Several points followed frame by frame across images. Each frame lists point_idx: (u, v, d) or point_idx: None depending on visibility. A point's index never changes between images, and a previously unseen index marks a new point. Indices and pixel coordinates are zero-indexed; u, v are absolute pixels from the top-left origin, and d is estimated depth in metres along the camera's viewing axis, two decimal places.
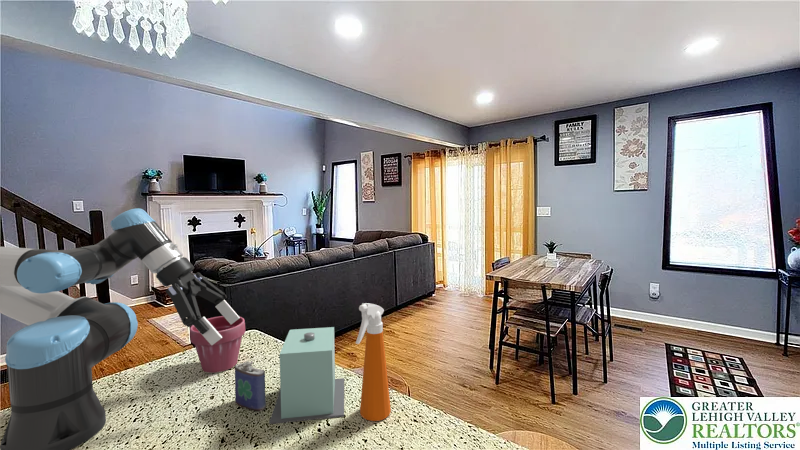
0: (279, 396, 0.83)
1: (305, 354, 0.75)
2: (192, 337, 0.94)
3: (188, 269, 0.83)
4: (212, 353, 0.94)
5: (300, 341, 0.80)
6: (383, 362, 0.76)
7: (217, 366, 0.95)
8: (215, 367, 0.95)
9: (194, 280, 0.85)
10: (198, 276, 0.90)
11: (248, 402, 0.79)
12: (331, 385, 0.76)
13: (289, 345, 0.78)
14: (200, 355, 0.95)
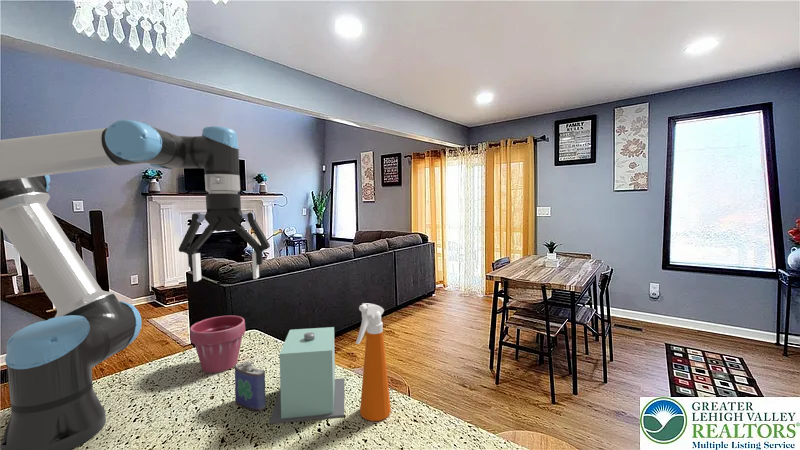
0: (279, 396, 0.83)
1: (305, 354, 0.75)
2: (192, 337, 0.94)
3: (212, 207, 0.80)
4: (212, 353, 0.94)
5: (300, 341, 0.80)
6: (383, 362, 0.76)
7: (217, 366, 0.95)
8: (215, 367, 0.95)
9: (225, 219, 0.82)
10: None
11: (248, 402, 0.79)
12: (331, 385, 0.76)
13: (289, 345, 0.78)
14: (200, 355, 0.95)
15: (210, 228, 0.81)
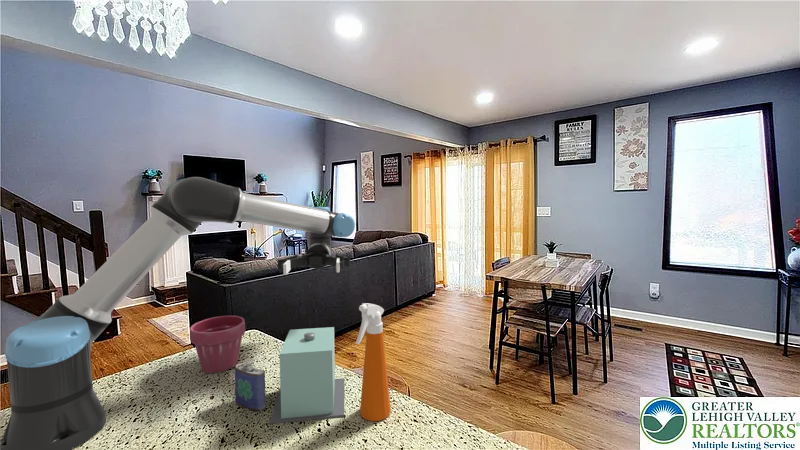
0: (279, 396, 0.83)
1: (305, 354, 0.75)
2: (192, 337, 0.94)
3: (322, 267, 1.08)
4: (212, 353, 0.94)
5: (300, 341, 0.80)
6: (383, 362, 0.76)
7: (217, 366, 0.95)
8: (215, 367, 0.95)
9: (314, 264, 1.05)
10: None
11: (248, 402, 0.79)
12: (331, 385, 0.76)
13: (289, 345, 0.78)
14: (200, 355, 0.95)
15: None
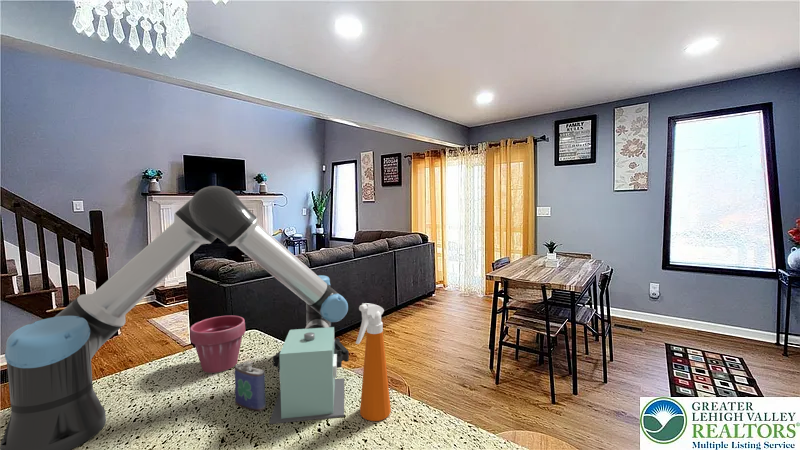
0: (279, 396, 0.83)
1: (305, 354, 0.75)
2: (192, 337, 0.94)
3: None
4: (212, 353, 0.94)
5: (300, 341, 0.80)
6: (383, 362, 0.76)
7: (217, 366, 0.95)
8: (215, 367, 0.95)
9: None
10: None
11: (248, 402, 0.79)
12: (331, 385, 0.76)
13: (289, 345, 0.78)
14: (200, 355, 0.95)
15: None
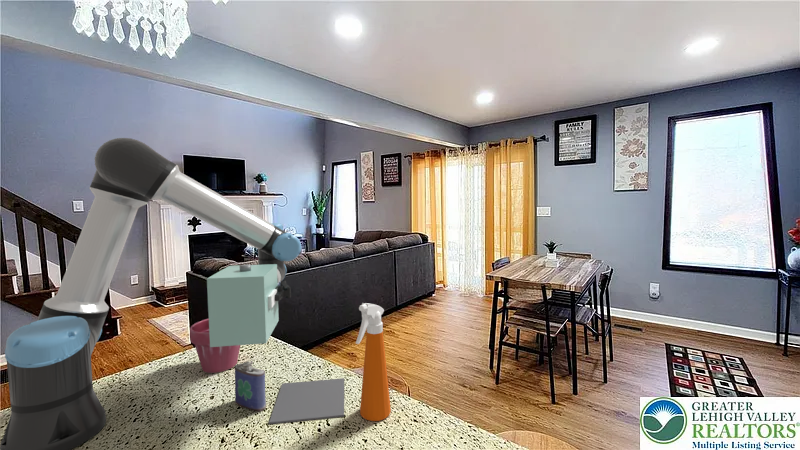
0: (279, 396, 0.83)
1: (235, 279, 0.71)
2: (192, 337, 0.94)
3: None
4: (212, 353, 0.94)
5: (234, 271, 0.77)
6: (383, 362, 0.76)
7: (217, 366, 0.95)
8: (215, 367, 0.95)
9: None
10: None
11: (248, 402, 0.79)
12: (263, 313, 0.73)
13: (221, 273, 0.75)
14: (200, 355, 0.95)
15: None
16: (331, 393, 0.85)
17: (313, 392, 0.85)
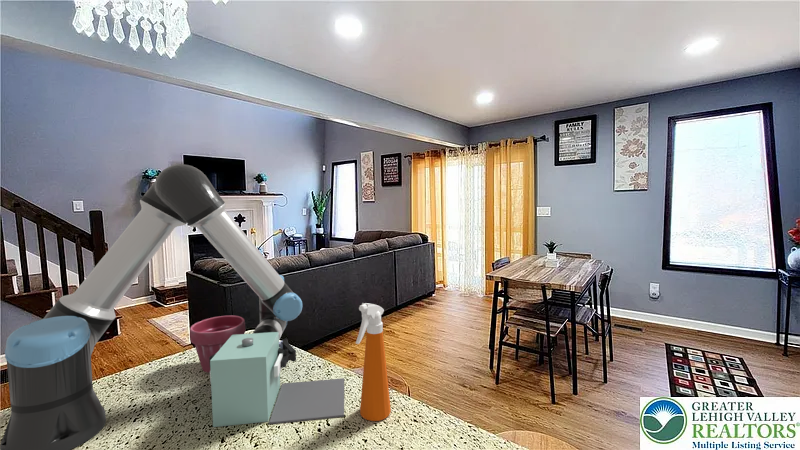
0: (279, 396, 0.83)
1: (237, 360, 0.73)
2: (192, 337, 0.94)
3: None
4: (212, 353, 0.94)
5: (237, 347, 0.78)
6: (383, 362, 0.76)
7: None
8: None
9: None
10: None
11: None
12: (265, 392, 0.74)
13: (224, 351, 0.76)
14: (200, 355, 0.95)
15: None
16: (331, 393, 0.85)
17: (313, 392, 0.85)
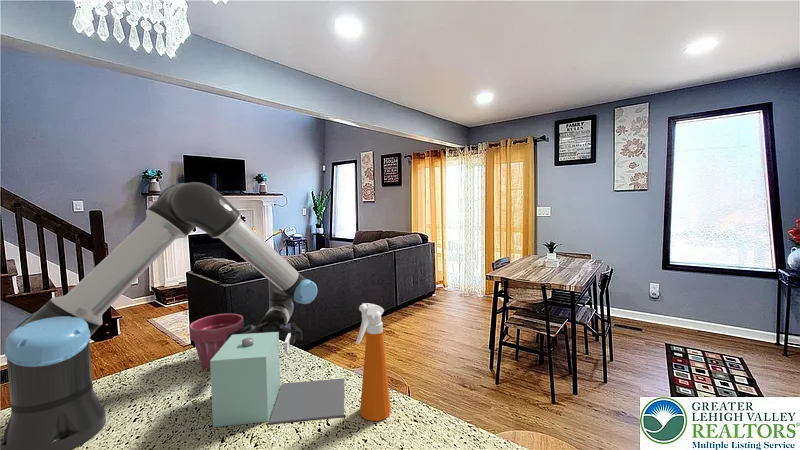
0: (279, 396, 0.83)
1: (237, 360, 0.73)
2: (195, 335, 0.95)
3: None
4: (216, 349, 0.96)
5: (237, 347, 0.78)
6: (383, 362, 0.76)
7: None
8: None
9: None
10: None
11: None
12: (265, 392, 0.74)
13: (224, 351, 0.76)
14: (203, 352, 0.96)
15: None
16: (331, 393, 0.85)
17: (313, 392, 0.85)
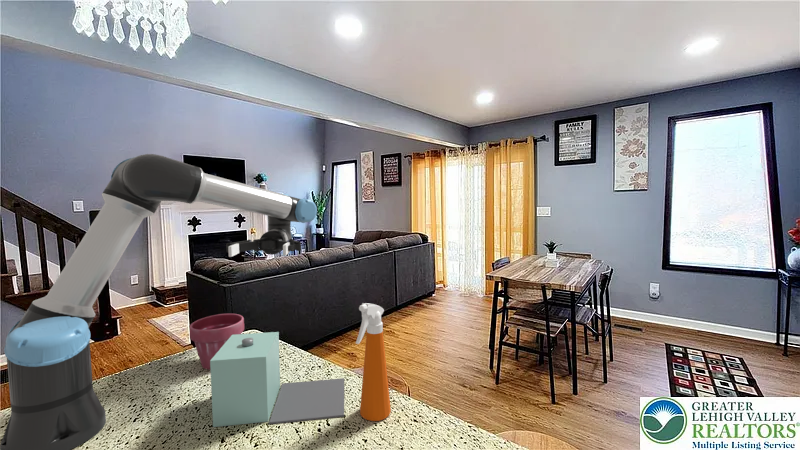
0: (279, 396, 0.83)
1: (237, 360, 0.73)
2: (195, 336, 0.95)
3: (276, 253, 1.08)
4: (217, 349, 0.96)
5: (237, 347, 0.78)
6: (383, 362, 0.76)
7: None
8: None
9: (267, 249, 1.04)
10: None
11: None
12: (265, 392, 0.74)
13: (224, 351, 0.76)
14: (203, 352, 0.96)
15: None
16: (331, 393, 0.85)
17: (313, 392, 0.85)
